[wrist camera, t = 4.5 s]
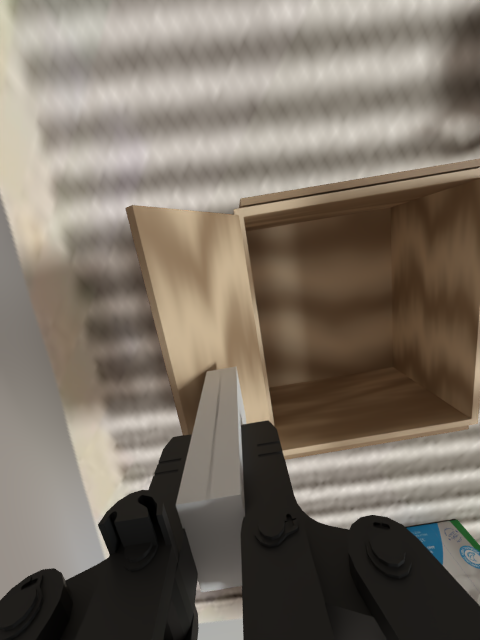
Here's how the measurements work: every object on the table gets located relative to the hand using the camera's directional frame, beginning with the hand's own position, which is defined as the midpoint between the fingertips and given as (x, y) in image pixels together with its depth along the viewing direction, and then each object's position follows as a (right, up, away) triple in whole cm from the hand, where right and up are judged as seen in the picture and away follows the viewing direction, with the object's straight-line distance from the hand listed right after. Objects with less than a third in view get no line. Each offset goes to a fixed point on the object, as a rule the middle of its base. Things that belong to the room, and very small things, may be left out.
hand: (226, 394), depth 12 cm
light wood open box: (+9, +5, +15) cm, 18 cm away
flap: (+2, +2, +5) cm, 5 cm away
